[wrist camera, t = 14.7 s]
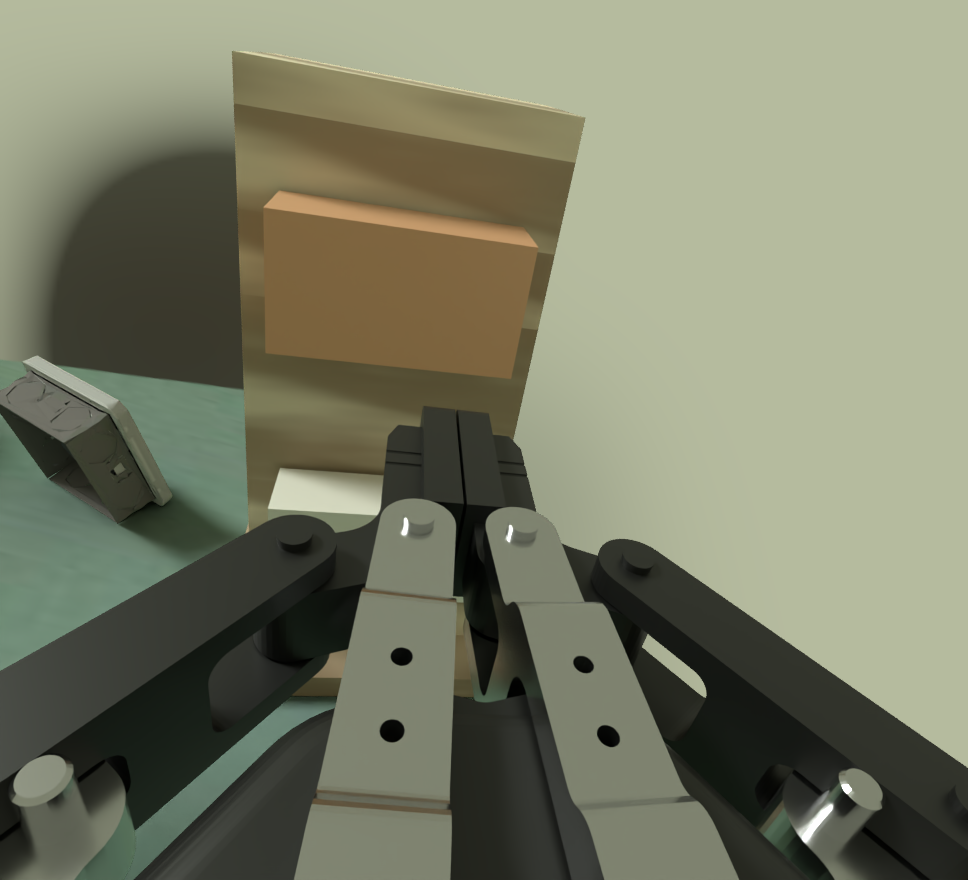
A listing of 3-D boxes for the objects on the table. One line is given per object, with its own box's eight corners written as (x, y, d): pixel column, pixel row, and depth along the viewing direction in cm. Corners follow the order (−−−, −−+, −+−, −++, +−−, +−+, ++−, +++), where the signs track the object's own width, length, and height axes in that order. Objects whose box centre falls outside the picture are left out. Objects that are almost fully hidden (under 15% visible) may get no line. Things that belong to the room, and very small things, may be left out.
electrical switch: (177, 504, 43) (151, 392, 38) (107, 547, 39) (67, 429, 34) (93, 453, 47) (58, 343, 41) (21, 488, 43) (-28, 372, 37)
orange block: (298, 283, 29) (299, 168, 26) (486, 306, 30) (505, 201, 28) (265, 353, 22) (263, 207, 19) (510, 379, 23) (538, 247, 21)
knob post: (252, 530, 42) (237, 44, 28) (480, 542, 45) (573, 108, 31) (199, 695, 31) (129, 35, 17) (505, 697, 34) (667, 136, 20)
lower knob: (295, 490, 35) (296, 413, 32) (452, 500, 36) (465, 428, 34) (269, 595, 28) (267, 508, 25) (464, 602, 29) (481, 521, 27)
